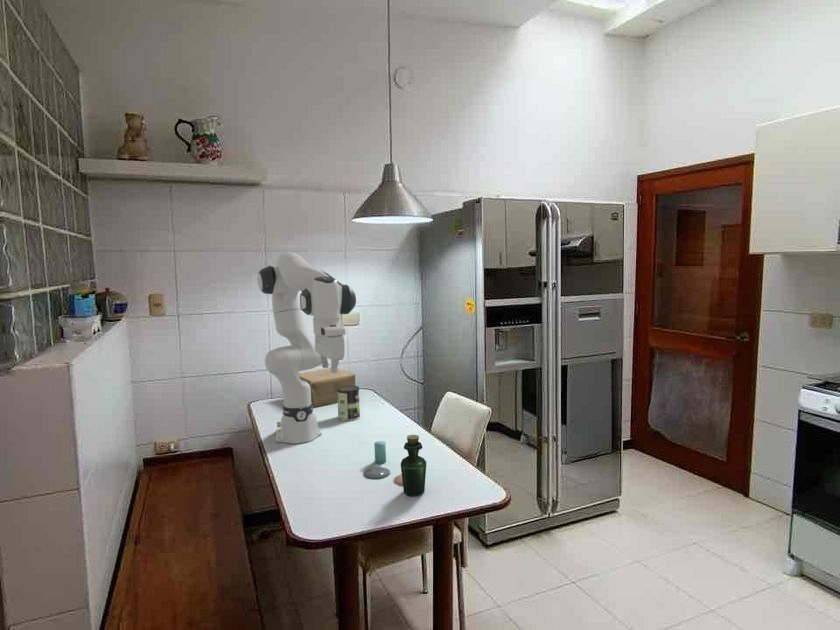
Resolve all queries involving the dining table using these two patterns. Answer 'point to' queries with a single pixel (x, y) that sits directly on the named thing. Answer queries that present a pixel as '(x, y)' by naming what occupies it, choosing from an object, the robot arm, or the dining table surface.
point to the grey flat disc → (376, 472)
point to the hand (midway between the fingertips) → (329, 370)
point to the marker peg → (380, 452)
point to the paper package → (326, 384)
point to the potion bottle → (413, 468)
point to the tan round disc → (398, 480)
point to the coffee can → (348, 403)
